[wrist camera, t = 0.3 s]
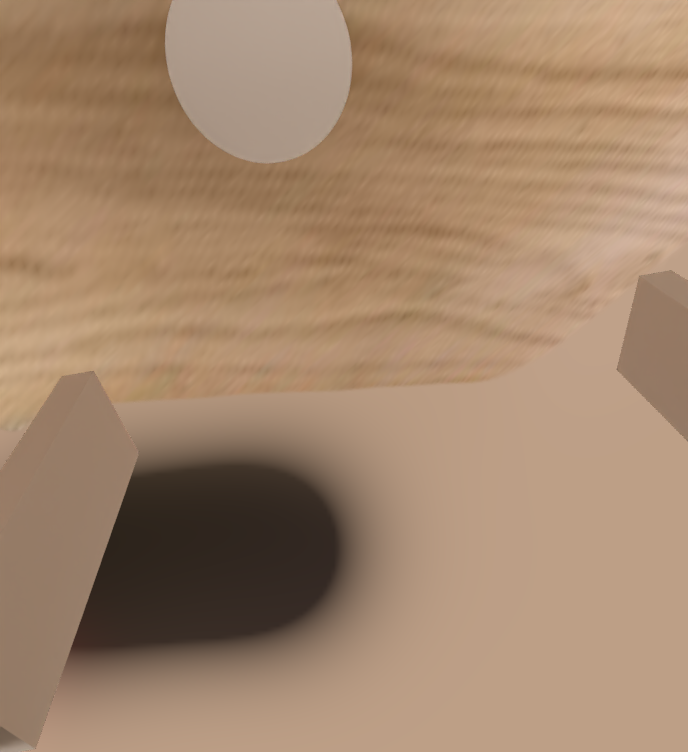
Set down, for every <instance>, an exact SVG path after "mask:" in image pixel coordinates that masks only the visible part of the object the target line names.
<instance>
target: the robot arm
mask: <svg viewBox="0 0 688 752" xmlns="http://www.w3.org/2000/svg"><path fill="white" fill-rule="evenodd" d="M617 370H618V372H619V373H621V374H622V375H623V376H624V378H626V380H627V381H629V383H630V384H631V385H632V386H633V387H634V388H636V390H637V391H638V392H639V393H640V394H641V395H642V396H643V397H644V398H645V399H646V400H647V401H648V402H649V403H650V404H651V405H652V406H653V407H654V408H655V409H656V410H657V411H658V412H659V413H660V414H661V415H662V416H663V417H664V418H665V419H666V420H667V421H668V422H669V423H670V424H671V425H672V426H673V427H674V428H675V429H676V430H677V431H678V432H679V433H680V434H681V435H682V436H683V437H684V438H685V439H686V440H687V441H688V280H686V279H685V278H683V277H681V276H680V275H678V274H676V273H675V272H673V271H671V270H670V271H664V272H658V273H653V274H647V275H641V276H639V279H638V283H637V287H636V292H635V296H634V300H633V304H632V308H631V313H630V316H629V321H628V325H627V329H626V333H625V337H624V341H623V346H622V350H621V354H620V358H619V362H618V366H617ZM138 454H139V452H138V450H137V448H136V446H135V445H134V443H133V441H132V439H131V437H130V436H129V434H128V432H127V430H126V429H125V427H124V425H123V423H122V421H121V420H120V418H119V416H118V414H117V412H116V410H115V409H114V407H113V405H112V403H111V401H110V400H109V398H108V396H107V394H106V392H105V391H104V389H103V387H102V385H101V383H100V382H99V380H98V378H97V376H96V374H95V373H94V371H90V372H84V373H78V374H73V375H67V376H62V377H61V378H60V380H59V381H58V383H57V384H56V386H55V388H54V389H53V391H52V392H51V394H50V395H49V397H48V398H47V400H46V401H45V403H44V404H43V406H42V407H41V409H40V410H39V412H38V414H37V415H36V417H35V418H34V420H33V421H32V423H31V424H30V426H29V427H28V429H27V430H26V432H25V433H24V435H23V437H22V438H21V440H20V441H19V443H18V444H17V446H16V447H15V449H14V450H13V452H12V453H11V455H10V457H9V458H8V460H7V461H6V463H5V464H4V466H3V467H2V469H1V470H0V752H22V751H27V750H33V749H36V746H37V743H38V741H39V738H40V735H41V732H42V729H43V726H44V723H45V721H46V718H47V715H48V712H49V709H50V706H51V703H52V701H53V698H54V695H55V692H56V689H57V686H58V683H59V680H60V678H61V675H62V672H63V669H64V666H65V663H66V660H67V658H68V655H69V652H70V649H71V646H72V643H73V640H74V637H75V635H76V632H77V629H78V626H79V623H80V620H81V617H82V615H83V612H84V609H85V606H86V603H87V600H88V597H89V594H90V591H91V589H92V586H93V583H94V580H95V577H96V574H97V572H98V569H99V566H100V563H101V560H102V557H103V554H104V551H105V549H106V546H107V543H108V540H109V537H110V534H111V531H112V528H113V526H114V523H115V520H116V517H117V514H118V511H119V509H120V506H121V503H122V500H123V497H124V494H125V491H126V489H127V486H128V482H129V480H130V477H131V474H132V471H133V468H134V466H135V463H136V460H137V457H138Z"/></svg>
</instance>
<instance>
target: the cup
mask: <svg viewBox="0 0 688 752" xmlns="http://www.w3.org/2000/svg"><path fill="white" fill-rule="evenodd" d="M165 52H166V61H167V67H168V72H169V76H170V80H171V83H172V86H173V89H174V91H175V94H176V96H177V98H178V100H179V102H180V104H181V106H182V108H183V110H184V111H185V113H186V115H187V116H188V118H189V119H190V120H191V122H192V123H193V124H194V126H195V127H196V128H197V129H198V130H199V131H200V132H201V133H202V134H203V135H204V136H205V137H206V138H207V139H208V140H209V141H210V142H212V143H213V144H214V145H216V146H217V147H218V148H220V149H222V150H223V151H225V152H227V153H229V154H230V155H233V156H235V157H237V158H240V159H243V160H247V161H251V162H256V163H279V162H284V161H289V160H292V159H295V158H297V157H299V156H302V155H303V154H305V153H307V152H309V151H310V150H312V149H313V148H314V147H316V146H317V145H318V144H319V143H320V142H321V141H323V139H324V138H325V137H326V136H327V135H328V134H329V133H330V131H331V130H332V129H333V127H334V126H335V124H336V123H337V121H338V119H339V117H340V115H341V113H342V111H343V109H344V106H345V104H346V100H347V97H348V93H349V89H350V84H351V76H352V51H351V43H350V37H349V33H348V29H347V25H346V22H345V19H344V16H343V14H342V11H341V9H340V7H339V5H338V3H337V1H336V0H172V3H171V6H170V9H169V13H168V18H167V23H166V31H165Z"/></svg>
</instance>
